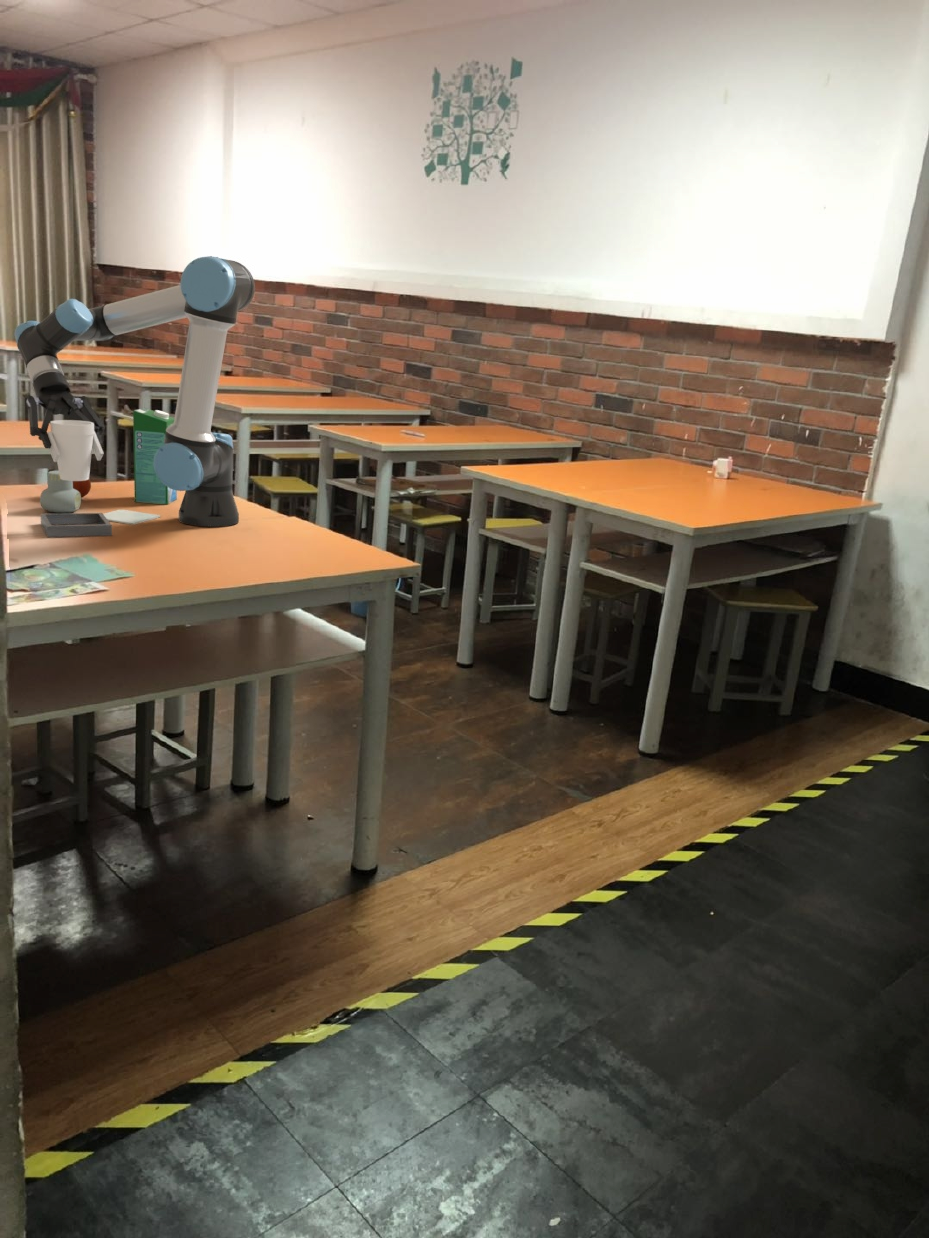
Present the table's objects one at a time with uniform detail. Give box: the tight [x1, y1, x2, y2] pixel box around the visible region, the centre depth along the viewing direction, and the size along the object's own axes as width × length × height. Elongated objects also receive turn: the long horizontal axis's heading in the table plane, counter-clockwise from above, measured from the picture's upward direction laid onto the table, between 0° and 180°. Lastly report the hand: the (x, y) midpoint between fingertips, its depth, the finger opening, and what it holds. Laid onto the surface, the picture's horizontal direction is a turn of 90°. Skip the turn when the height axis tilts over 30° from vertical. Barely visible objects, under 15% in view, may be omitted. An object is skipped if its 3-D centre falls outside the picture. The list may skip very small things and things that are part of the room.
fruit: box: [57, 469, 92, 499], centre depth 260 cm, size 11×10×8 cm
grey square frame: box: [40, 512, 113, 538], centre depth 228 cm, size 14×14×2 cm
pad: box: [103, 509, 162, 526], centre depth 245 cm, size 12×12×1 cm
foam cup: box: [49, 419, 94, 481], centre depth 223 cm, size 10×9×13 cm
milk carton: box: [132, 407, 178, 505], centre depth 265 cm, size 9×9×25 cm
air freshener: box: [39, 470, 82, 514], centre depth 245 cm, size 11×8×10 cm
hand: (79, 457), depth 221 cm, fingers closed on foam cup, 9 cm apart
